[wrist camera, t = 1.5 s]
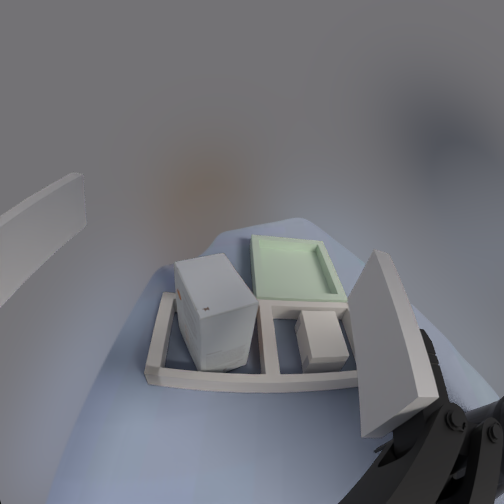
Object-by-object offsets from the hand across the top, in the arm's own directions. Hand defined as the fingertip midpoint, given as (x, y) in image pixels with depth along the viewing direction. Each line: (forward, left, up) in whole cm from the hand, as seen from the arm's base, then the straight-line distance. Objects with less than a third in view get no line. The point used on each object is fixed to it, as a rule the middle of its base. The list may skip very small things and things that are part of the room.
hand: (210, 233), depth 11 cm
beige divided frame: (-7, -9, -21) cm, 24 cm away
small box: (0, -9, -22) cm, 24 cm away
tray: (-12, -23, -21) cm, 34 cm away
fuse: (-13, -9, -21) cm, 27 cm away
